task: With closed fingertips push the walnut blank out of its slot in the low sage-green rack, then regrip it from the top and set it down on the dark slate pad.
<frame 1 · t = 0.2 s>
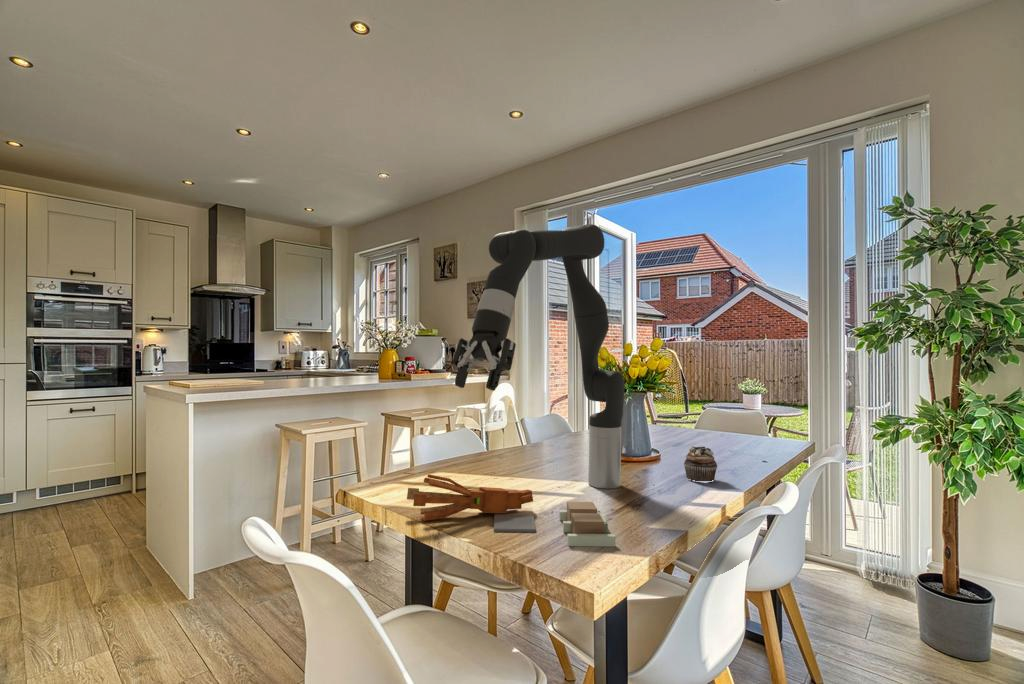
hand: (474, 388, 99), 31 cm above the table, tool tilted 20°, fingers open, 8 cm apart
cupcake: (700, 480, 151), on the table
pad: (514, 524, 110), on the table
toy: (471, 514, 116), on the table, touching pad
rack: (585, 531, 106), on the table
blank: (586, 538, 102), on the table
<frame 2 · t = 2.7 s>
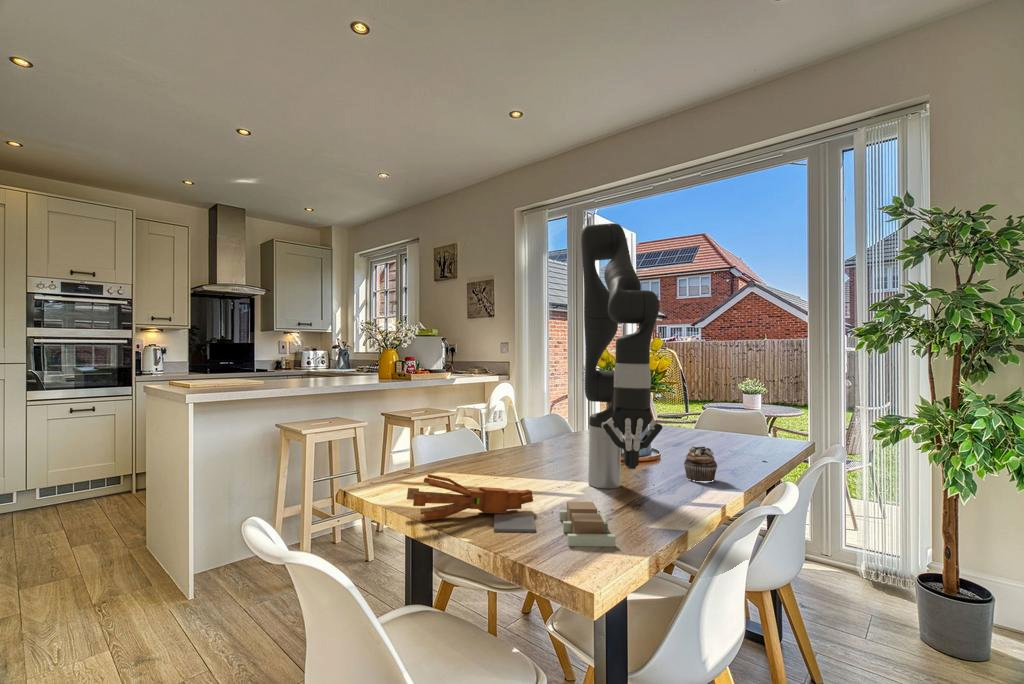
hand: (630, 468, 103), 15 cm above the table, tool pointing down, fingers closed
nothing on the table moved.
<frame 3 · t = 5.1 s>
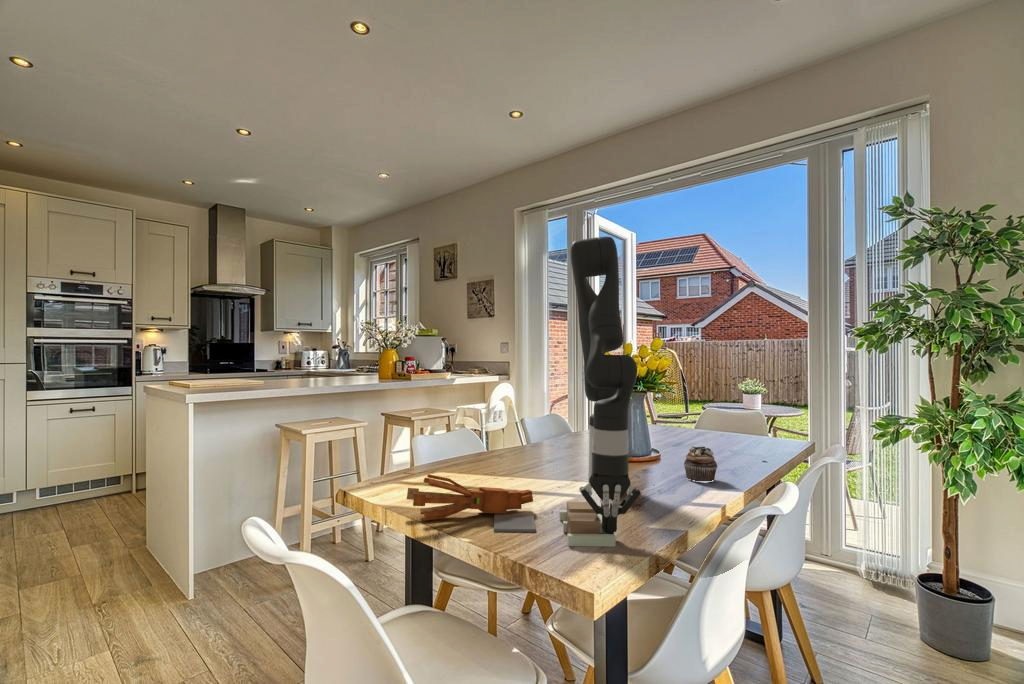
hand: (609, 533, 102), 1 cm above the table, tool pointing down, fingers closed
blank: (582, 538, 102), on the table, touching gripper
everything else where it was.
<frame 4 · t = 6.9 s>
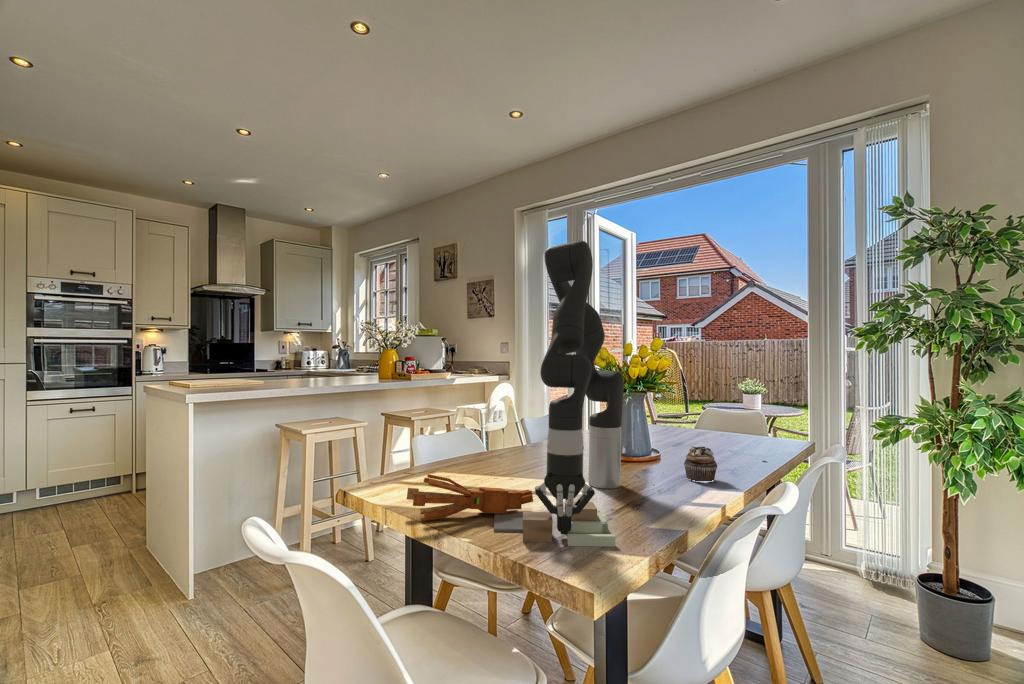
hand: (563, 533, 102), 1 cm above the table, tool pointing down, fingers closed
blank: (537, 537, 102), on the table, touching gripper
everything else where it was.
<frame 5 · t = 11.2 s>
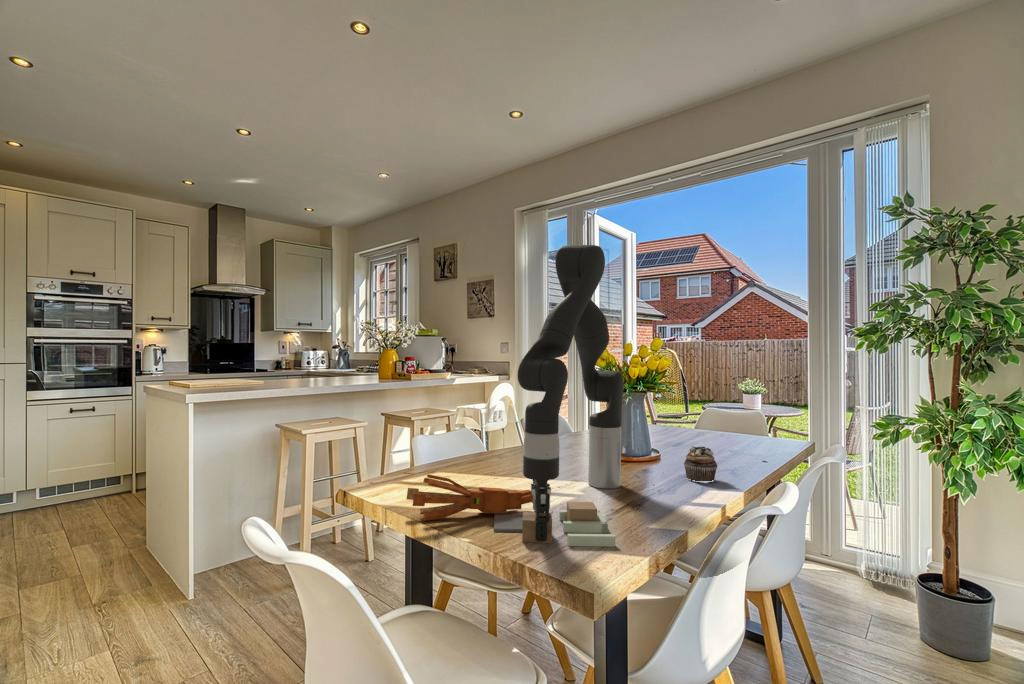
hand: (539, 534, 102), 1 cm above the table, tool pointing down, fingers open, 6 cm apart
blank: (536, 538, 102), on the table
everything else where it was.
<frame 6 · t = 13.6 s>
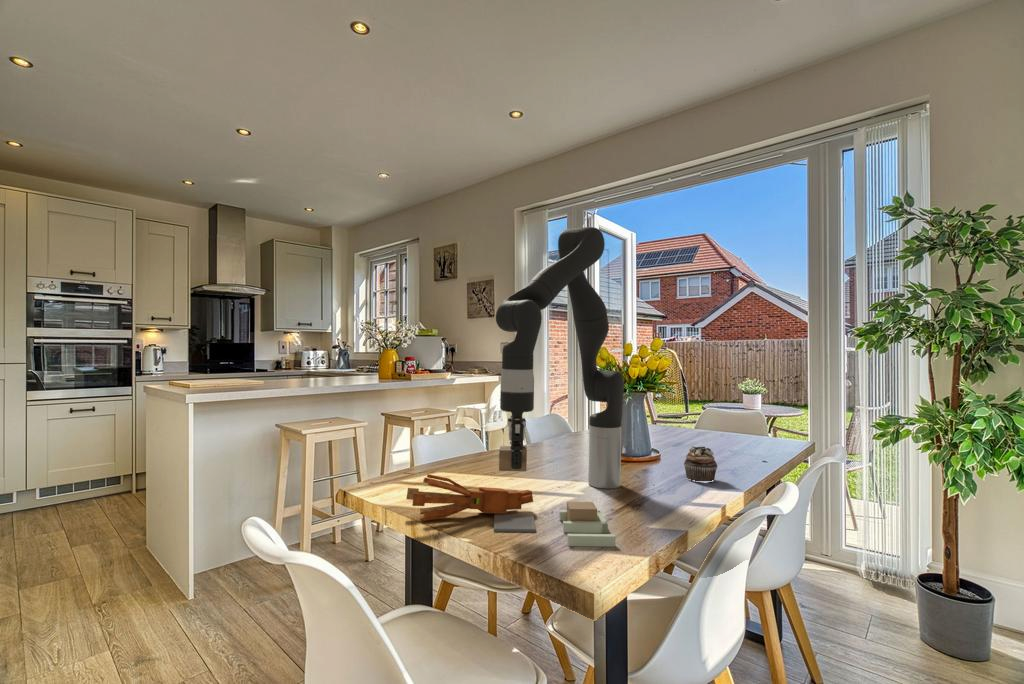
hand: (515, 465, 110), 13 cm above the table, tool pointing down, fingers closed on blank, 5 cm apart
blank: (512, 468, 110), point 12 cm above the table, touching gripper
everything else where it was.
when the fingers open (2 cm above the table, at t = 16.0 s): blank moves 1 cm, resting on pad.
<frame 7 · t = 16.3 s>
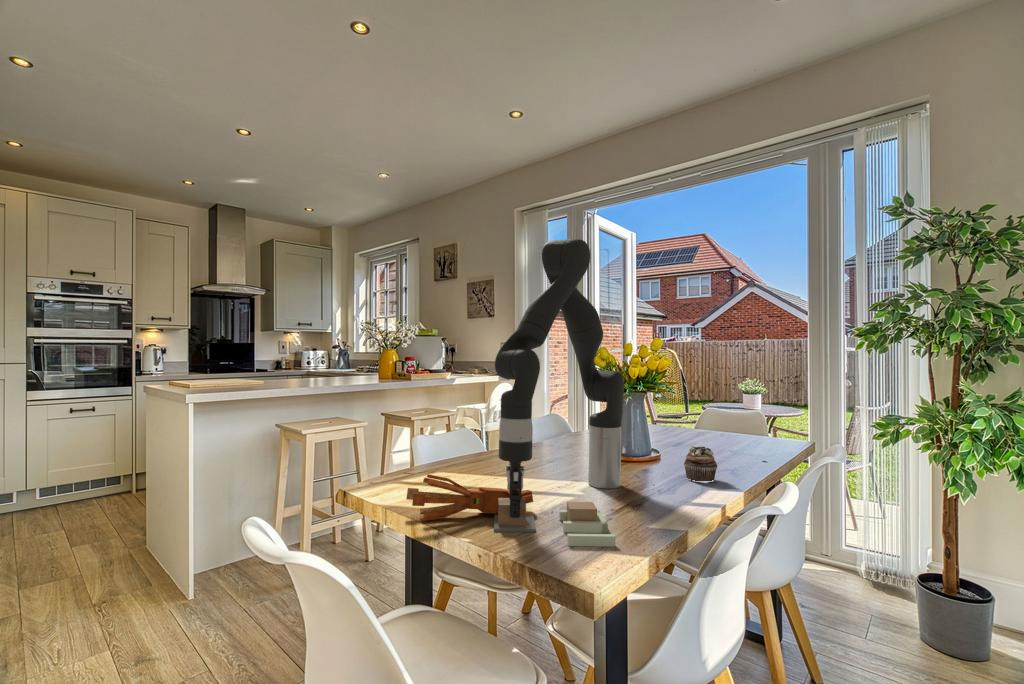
hand: (514, 511, 110), 3 cm above the table, tool pointing down, fingers open, 7 cm apart
toy: (470, 515, 115), on the table, touching gripper
blank: (511, 521, 110), point 1 cm above the table, touching pad
everything else where it was.
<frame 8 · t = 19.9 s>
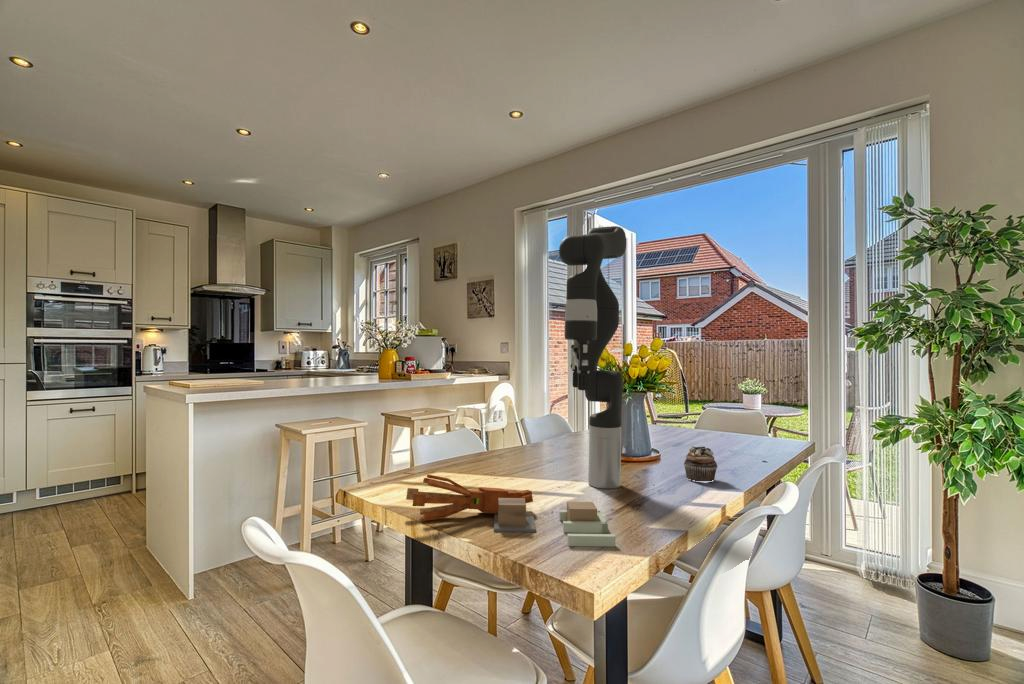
hand: (579, 388, 115), 30 cm above the table, tool pointing down, fingers open, 8 cm apart
toy: (470, 515, 115), on the table, touching pad
everything else where it was.
at the end: blank inside the target area on the pad (0.6 cm from its centre), point 0.6 cm above the pad's base; blank tilted 0°; the gripper is holding nothing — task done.
